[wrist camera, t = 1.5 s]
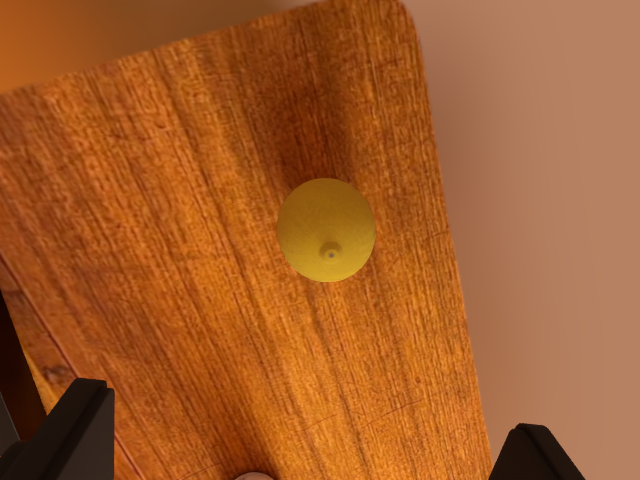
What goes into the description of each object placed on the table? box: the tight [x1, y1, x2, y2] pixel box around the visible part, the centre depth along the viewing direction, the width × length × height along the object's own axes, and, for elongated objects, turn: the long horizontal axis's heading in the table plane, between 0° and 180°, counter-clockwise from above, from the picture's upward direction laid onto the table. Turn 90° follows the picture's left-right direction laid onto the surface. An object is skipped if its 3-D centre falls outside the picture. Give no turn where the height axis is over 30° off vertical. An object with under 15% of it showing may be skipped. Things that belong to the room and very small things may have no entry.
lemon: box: [277, 178, 376, 282], centre depth 23 cm, size 6×6×8 cm
